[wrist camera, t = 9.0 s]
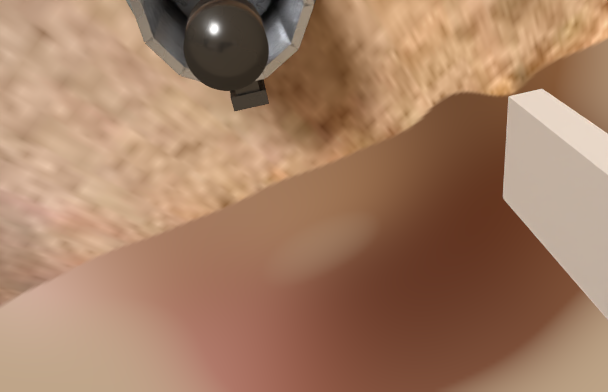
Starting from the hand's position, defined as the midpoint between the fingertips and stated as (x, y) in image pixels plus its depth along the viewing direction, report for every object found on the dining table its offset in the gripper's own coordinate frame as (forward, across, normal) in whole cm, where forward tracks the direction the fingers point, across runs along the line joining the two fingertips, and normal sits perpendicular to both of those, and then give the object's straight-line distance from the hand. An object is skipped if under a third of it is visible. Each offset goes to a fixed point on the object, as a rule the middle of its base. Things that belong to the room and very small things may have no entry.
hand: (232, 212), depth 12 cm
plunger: (+31, 0, 0) cm, 31 cm away
